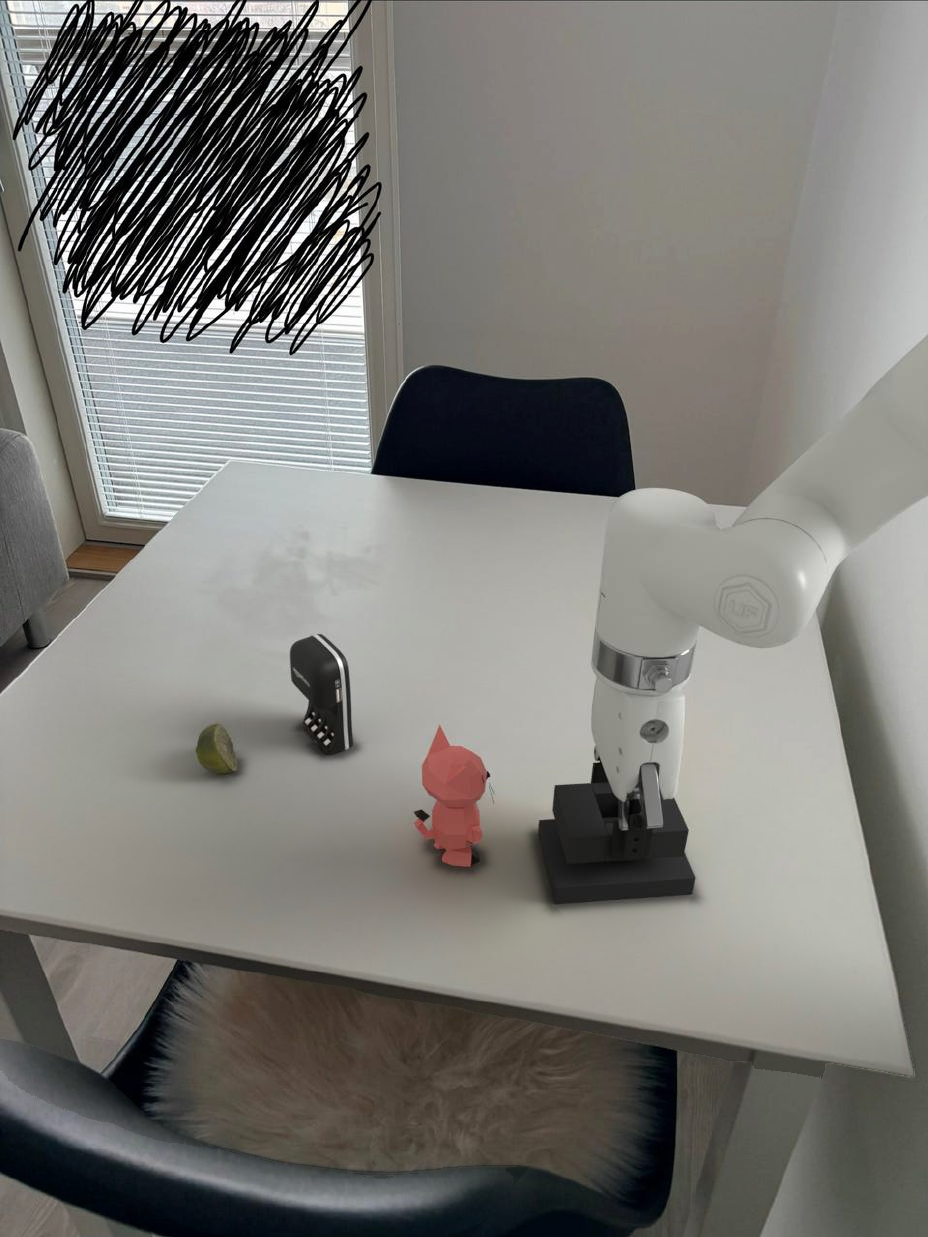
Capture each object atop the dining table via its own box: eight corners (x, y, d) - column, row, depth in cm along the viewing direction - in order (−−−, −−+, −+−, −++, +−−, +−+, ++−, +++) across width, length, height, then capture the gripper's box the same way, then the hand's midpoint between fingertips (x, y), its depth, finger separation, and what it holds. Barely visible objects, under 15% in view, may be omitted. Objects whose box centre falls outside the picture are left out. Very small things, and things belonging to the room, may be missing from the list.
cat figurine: (503, 865, 77) (509, 759, 71) (431, 889, 75) (431, 781, 69) (470, 813, 83) (473, 711, 77) (402, 834, 80) (399, 730, 74)
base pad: (664, 827, 82) (669, 799, 80) (692, 894, 75) (698, 865, 73) (537, 835, 80) (539, 807, 79) (554, 904, 74) (557, 874, 72)
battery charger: (292, 727, 94) (282, 637, 88) (324, 715, 96) (316, 626, 90) (322, 762, 89) (314, 669, 83) (355, 749, 91) (350, 656, 85)
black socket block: (661, 803, 79) (665, 778, 77) (683, 856, 73) (689, 830, 72) (552, 810, 78) (554, 784, 76) (566, 864, 72) (569, 837, 71)
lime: (227, 747, 91) (220, 708, 88) (254, 769, 88) (248, 729, 85) (188, 767, 88) (181, 728, 85) (216, 790, 85) (209, 750, 82)
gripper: (732, 719, 59) (692, 903, 68) (657, 594, 74) (632, 759, 83) (624, 724, 58) (598, 909, 68) (570, 597, 73) (555, 763, 82)
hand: (617, 825), depth 75 cm, fingers closed on black socket block, 6 cm apart
